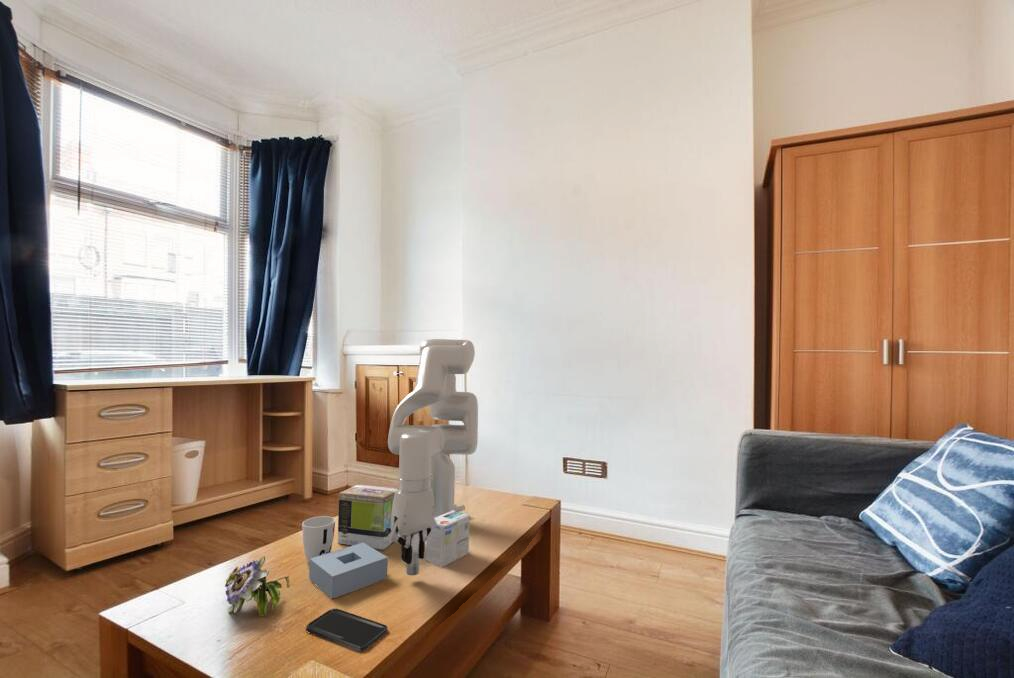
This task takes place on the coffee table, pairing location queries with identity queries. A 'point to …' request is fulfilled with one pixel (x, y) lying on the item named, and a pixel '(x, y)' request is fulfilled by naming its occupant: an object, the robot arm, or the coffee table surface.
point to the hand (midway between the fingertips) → (412, 558)
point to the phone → (347, 629)
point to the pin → (414, 554)
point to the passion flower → (252, 587)
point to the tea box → (365, 516)
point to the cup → (318, 536)
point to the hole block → (348, 569)
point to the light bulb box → (448, 538)
